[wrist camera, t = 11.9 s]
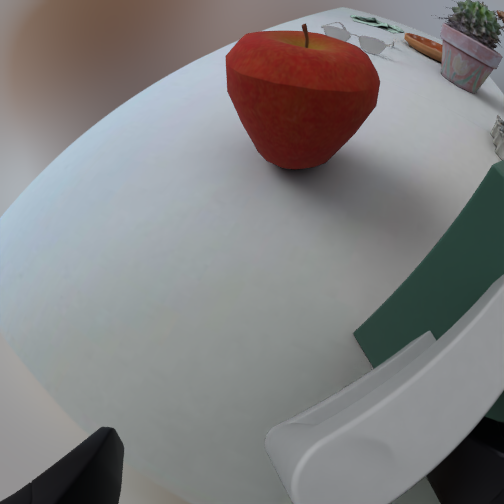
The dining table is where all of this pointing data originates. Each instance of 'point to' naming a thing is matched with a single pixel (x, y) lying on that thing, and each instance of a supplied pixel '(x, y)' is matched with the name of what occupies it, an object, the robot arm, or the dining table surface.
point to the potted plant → (470, 45)
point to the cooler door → (411, 373)
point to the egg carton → (499, 137)
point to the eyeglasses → (366, 42)
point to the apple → (300, 94)
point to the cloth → (377, 24)
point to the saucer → (425, 46)
